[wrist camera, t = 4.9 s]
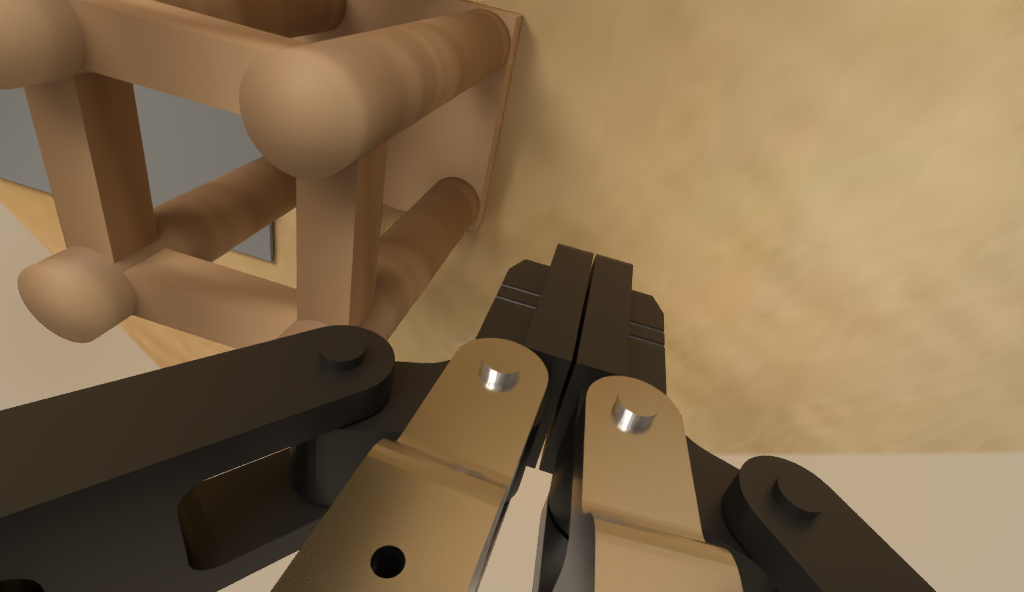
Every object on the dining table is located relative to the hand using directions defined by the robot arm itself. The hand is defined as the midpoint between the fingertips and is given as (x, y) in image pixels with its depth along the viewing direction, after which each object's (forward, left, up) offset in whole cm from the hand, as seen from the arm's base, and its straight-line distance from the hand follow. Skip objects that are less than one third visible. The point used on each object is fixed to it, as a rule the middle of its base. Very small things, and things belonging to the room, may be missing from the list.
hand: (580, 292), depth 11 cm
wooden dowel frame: (+7, 0, -9) cm, 11 cm away
